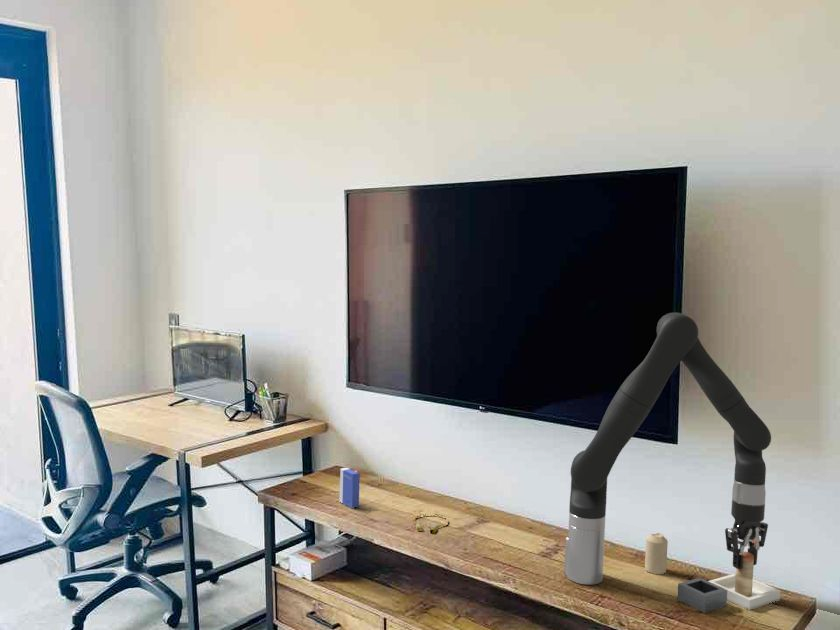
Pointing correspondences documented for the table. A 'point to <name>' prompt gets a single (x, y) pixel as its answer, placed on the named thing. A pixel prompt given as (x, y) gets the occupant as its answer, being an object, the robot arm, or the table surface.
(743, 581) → the pin
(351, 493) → the walkman
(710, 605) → the socket block
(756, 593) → the tray
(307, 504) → the table surface
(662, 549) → the candle
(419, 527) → the beaded necklace
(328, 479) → the table surface
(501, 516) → the table surface
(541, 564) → the table surface
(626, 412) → the robot arm
